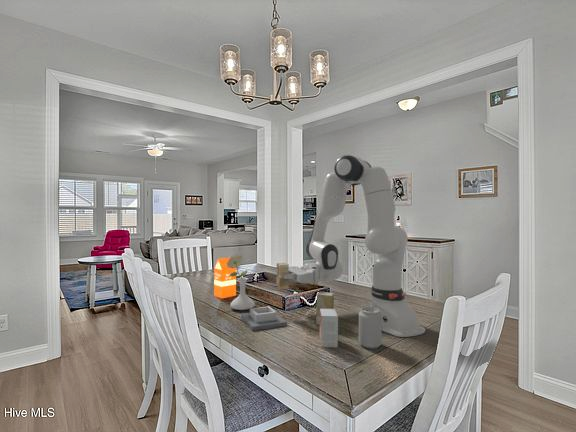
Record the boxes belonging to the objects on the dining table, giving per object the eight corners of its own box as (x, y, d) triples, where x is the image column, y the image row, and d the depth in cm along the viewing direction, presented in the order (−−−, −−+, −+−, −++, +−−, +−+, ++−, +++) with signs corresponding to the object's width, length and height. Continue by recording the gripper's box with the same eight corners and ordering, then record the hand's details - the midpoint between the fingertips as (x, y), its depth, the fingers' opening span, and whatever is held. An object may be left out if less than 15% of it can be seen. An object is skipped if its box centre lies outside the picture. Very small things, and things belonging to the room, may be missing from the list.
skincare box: (315, 324, 124) (316, 293, 124) (318, 321, 128) (318, 291, 128) (331, 326, 121) (332, 295, 121) (334, 323, 126) (334, 292, 125)
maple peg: (288, 289, 135) (288, 264, 135) (280, 290, 133) (280, 264, 133) (285, 287, 139) (285, 262, 139) (276, 288, 137) (276, 263, 137)
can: (379, 340, 108) (379, 306, 108) (383, 350, 101) (383, 313, 101) (357, 339, 109) (357, 305, 109) (359, 349, 102) (360, 312, 102)
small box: (319, 337, 111) (319, 308, 111) (335, 338, 111) (335, 308, 111) (320, 347, 103) (321, 315, 103) (337, 347, 103) (338, 316, 103)
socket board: (286, 325, 122) (286, 314, 122) (252, 330, 117) (252, 318, 117) (272, 313, 137) (272, 303, 137) (241, 317, 132) (241, 306, 131)
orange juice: (213, 295, 166) (214, 257, 166) (228, 292, 172) (228, 256, 172) (221, 298, 160) (221, 259, 160) (236, 295, 166) (236, 257, 166)
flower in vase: (252, 303, 151) (252, 252, 151) (257, 310, 140) (257, 255, 140) (224, 306, 147) (225, 253, 147) (228, 313, 136) (228, 256, 136)
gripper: (299, 262, 151) (272, 264, 145) (320, 269, 132) (289, 272, 126) (299, 275, 151) (272, 277, 145) (319, 284, 132) (289, 287, 126)
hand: (280, 275), depth 136 cm, fingers closed on maple peg, 4 cm apart
